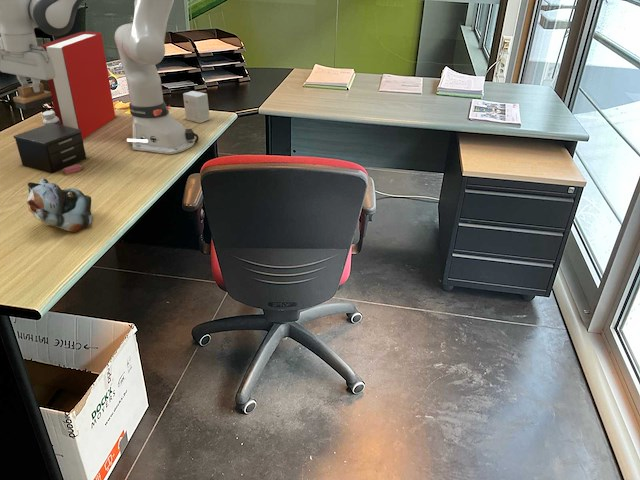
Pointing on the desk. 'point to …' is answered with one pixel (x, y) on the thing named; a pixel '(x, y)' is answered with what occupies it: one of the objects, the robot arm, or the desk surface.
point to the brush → (32, 97)
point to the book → (80, 82)
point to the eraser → (72, 169)
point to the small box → (196, 106)
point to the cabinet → (50, 147)
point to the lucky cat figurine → (59, 206)
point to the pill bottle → (50, 118)
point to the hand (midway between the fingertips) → (31, 90)
